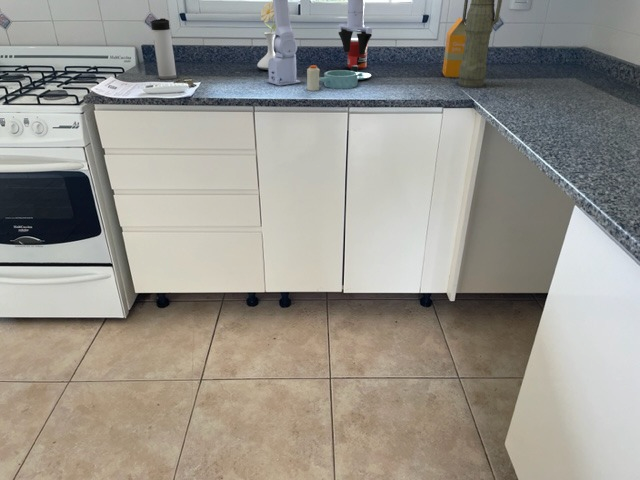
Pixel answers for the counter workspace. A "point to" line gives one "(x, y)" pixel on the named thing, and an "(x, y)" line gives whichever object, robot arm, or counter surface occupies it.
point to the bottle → (313, 78)
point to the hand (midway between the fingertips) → (354, 53)
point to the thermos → (477, 41)
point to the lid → (364, 75)
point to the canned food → (356, 55)
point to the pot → (340, 79)
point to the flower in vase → (268, 34)
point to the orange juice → (454, 49)
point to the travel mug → (163, 48)
